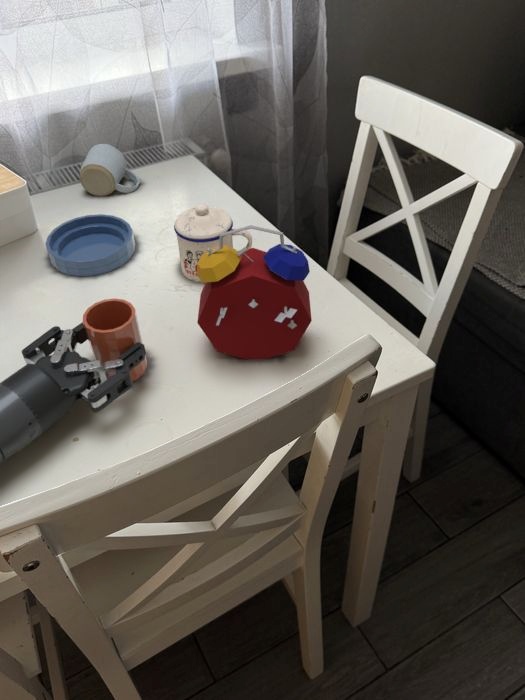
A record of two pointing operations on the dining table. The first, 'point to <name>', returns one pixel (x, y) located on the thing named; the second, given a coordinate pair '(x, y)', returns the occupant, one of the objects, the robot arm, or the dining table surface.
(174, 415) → the dining table surface
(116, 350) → the cup
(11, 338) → the dining table surface
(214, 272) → the alarm clock
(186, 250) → the teacup with lid
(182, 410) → the dining table surface
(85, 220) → the bowl
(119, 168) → the ceramic mug
